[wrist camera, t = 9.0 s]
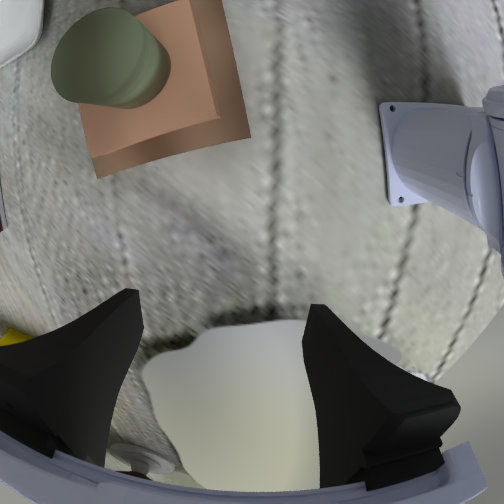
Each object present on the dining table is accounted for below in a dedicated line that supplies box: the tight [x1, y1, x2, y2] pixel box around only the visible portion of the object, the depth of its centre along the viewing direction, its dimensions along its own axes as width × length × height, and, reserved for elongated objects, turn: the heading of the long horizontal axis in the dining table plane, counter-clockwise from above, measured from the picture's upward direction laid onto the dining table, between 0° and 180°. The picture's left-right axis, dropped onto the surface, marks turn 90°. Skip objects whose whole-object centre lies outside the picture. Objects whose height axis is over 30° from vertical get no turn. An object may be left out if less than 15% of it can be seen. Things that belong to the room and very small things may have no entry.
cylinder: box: [51, 8, 171, 109], centre depth 10 cm, size 4×4×5 cm
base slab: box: [92, 0, 251, 179], centre depth 16 cm, size 11×11×2 cm
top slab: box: [78, 0, 221, 158], centre depth 14 cm, size 8×8×2 cm
